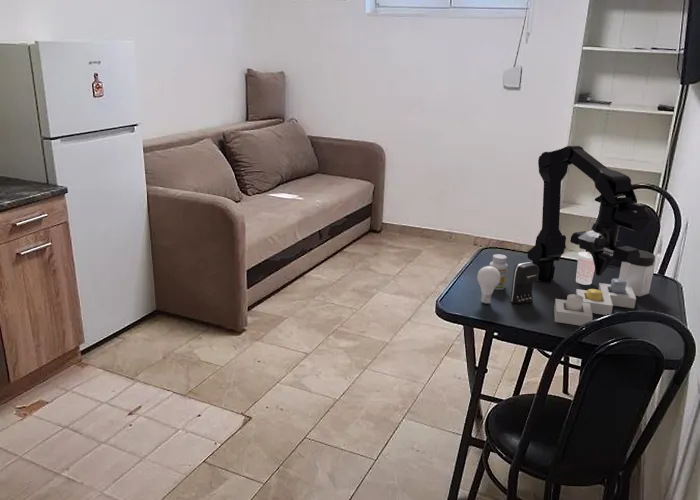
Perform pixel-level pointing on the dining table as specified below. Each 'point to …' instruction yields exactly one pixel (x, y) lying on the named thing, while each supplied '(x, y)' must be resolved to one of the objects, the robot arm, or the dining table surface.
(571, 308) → the offwhite button
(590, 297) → the mustard button
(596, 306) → the hollow square frame
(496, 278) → the lightbulb
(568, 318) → the offwhite housing
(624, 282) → the slate button
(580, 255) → the beverage cup
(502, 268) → the supplement bottle
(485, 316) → the dining table surface
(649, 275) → the jar
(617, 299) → the light gray housing
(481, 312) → the dining table surface
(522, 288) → the battery charger
